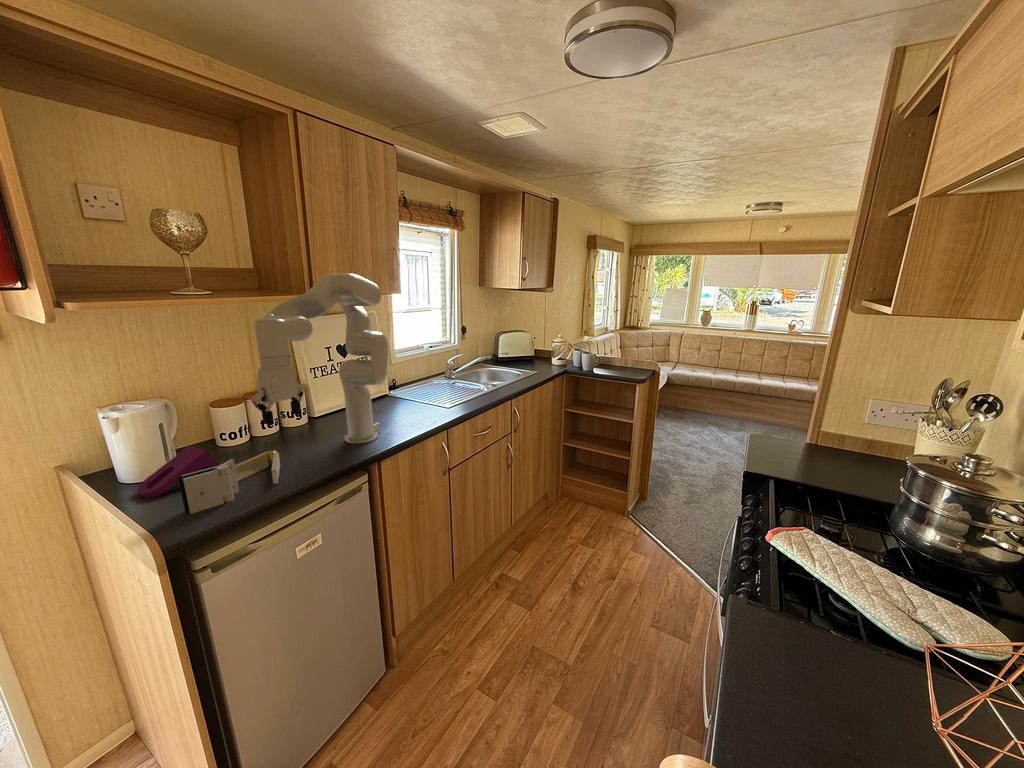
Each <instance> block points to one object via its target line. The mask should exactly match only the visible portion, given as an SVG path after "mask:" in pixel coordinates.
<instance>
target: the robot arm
mask: <svg viewBox="0 0 1024 768" xmlns="http://www.w3.org/2000/svg"><path fill="white" fill-rule="evenodd" d="M381 300H382V292H381V289H380V287H379V286H378V285H377V284H376V283H375V282H374V281H371V280H369V279H366V278H365V277H363V276H360V275H358V274H354V273H330V274H329V273H328V274H326V275H324V276H323V277H322V278H320V279H319V280H318V281H317V282H316V283H315V284H314V285H312V287H310V288H309V289H308V291H306V292H305V293H303V294H301V295H298V296H296V297H293V298H291V299H288V300H286V301H284V302H282V303H280V304H278V305H277V306H275V307H274V308H273V309H271V310H270V311H269V312H268V313H267V314H266V315H265V316H264V317H263V318H258V319H256V320H255V322H254V331H255V337H256V338H255V339H256V343H257V350H258V351H257V352H258V356H259V357H258V358H259V364H260V368H257V377H256V380H257V382H256V384H257V385H256V386H257V393H255V395H254V396H252V397H251V398H250V401H251V402H252V404H253V405H254V407H255V408H256V409H257V410H258V411H260V412H261V415H262V417H261V418H262V421H263V424H264V425H270V426H273V425H274V424H275V421H274V414H273V410H271V409H272V407H273V404H276V403H280V402H283V401H286V400H289V399H290V409H291V414H292V415H296V416H300V415H302V408H301V402H302V399H303V396H304V395H305V394H304V392H305V388H306V385H305V384H302V383H299V382H298V381H297V376H296V372H295V369H294V366H293V364H291V360H292V359H293V357H292V355H291V354H290V349H289V342H302V341H303V342H304V341H305V340H308V339H309V338H311V336H312V333H313V331H314V330H313V329H314V327H313V324H312V322H311V321H310V320H309V319H314V318H319V317H322V316H324V315H326V314H327V313H329V311H330V310H331V309H332V308H333V307H334V306H335V305H336V303H338V304H339V305H340V307H341V309H342V310H343V312H344V314H345V319H346V328H345V343H344V345H345V351H346V353H347V355H351V356H354V357H370V359H357V358H355V359H348V360H344V361H343V362H342V363H340V365H339V368H338V375H339V378H340V381H341V384H342V389H343V393H344V394H343V395H344V404H345V405H344V406H345V413H346V425H347V431H348V432H347V434H346V435H345V436H344V441H345V442H346V443H348V444H355V445H356V444H357V445H359V444H364V443H365V444H366V443H369V442H372V441H375V440H376V439H378V437H379V433H378V431H376V429H377V428H379V427H380V426H381V423H380V422H377V421H376V422H375V423H374V418H373V409H372V407H373V406H372V396H371V392H370V390H369V388H368V386H381V385H382V384H384V383H385V381H386V379H387V376H388V374H387V373H388V360H389V341H388V338H387V336H386V335H385V334H384V333H382V332H381V331H371V319H370V315H369V313H368V312H367V310H366V309H365V308H364V307H375V306H377V305H379V303H380V302H381Z"/></svg>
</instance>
